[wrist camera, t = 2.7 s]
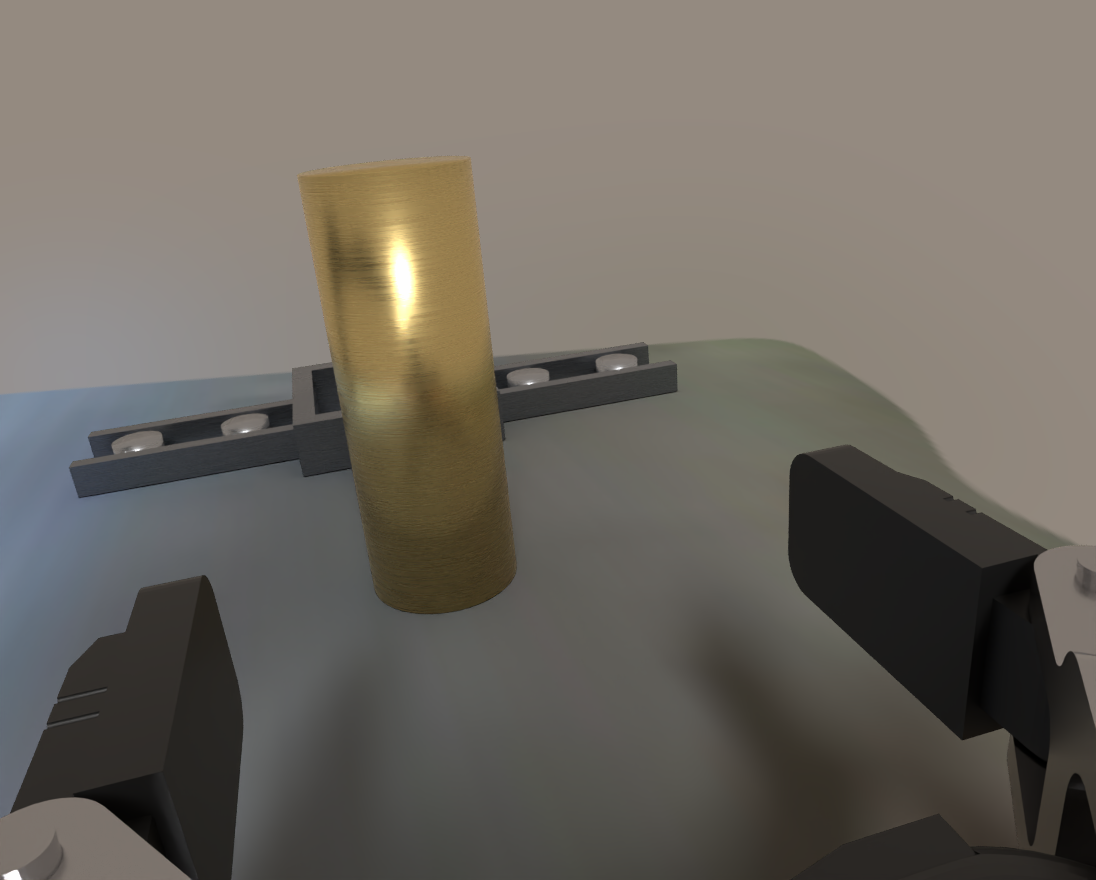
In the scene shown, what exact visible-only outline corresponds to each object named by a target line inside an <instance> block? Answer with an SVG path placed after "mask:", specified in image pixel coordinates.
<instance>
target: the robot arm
mask: <svg viewBox="0 0 1096 880" xmlns="http://www.w3.org/2000/svg"><path fill="white" fill-rule="evenodd" d="M788 555H789V562H790V567H791V570H792V573H793V576H794V578H795V581H796V583H797V584H798V586H799V588H800V589H801V591H802V592H803V593H804V594H805V595H806V596H807V597H808V598H809V599H810V600H811V601H812V602H813V603H814V604H815V605H816V606H818V607H819V608H820V609H821V610H822V611H823V612H824V613H825V614H826V615H827V616H828V617H829V618H831V619H832V620H833V621H834V622H835V623H836V624H837V625H838V626H839V627H840V628H841V629H842V630H843V631H845V632H846V633H847V634H848V635H849V636H850V637H851V638H852V639H853V640H854V641H855V642H856V643H858V644H859V645H860V646H861V647H862V648H863V649H864V650H865V651H866V652H867V653H868V654H869V655H870V656H872V657H873V658H874V659H875V660H876V661H877V662H878V663H879V664H880V665H881V666H882V667H883V668H885V669H886V670H887V671H888V672H889V673H890V674H891V675H892V676H893V677H894V678H895V679H896V680H897V681H899V682H900V683H901V684H902V685H903V686H904V687H905V688H906V689H907V690H908V691H909V692H910V693H912V694H913V695H914V696H915V697H916V698H917V699H918V700H919V701H920V702H921V703H922V704H923V705H924V706H926V707H927V708H928V709H929V710H930V711H931V712H932V713H933V714H934V715H935V716H936V717H937V718H939V719H940V720H941V721H942V722H943V723H944V724H945V725H946V726H947V727H948V728H949V729H950V730H951V731H953V732H954V733H955V734H956V735H957V736H958V737H959V738H960V739H961V740H965V739H969V738H972V737H975V736H978V735H982V734H985V733H988V732H992V731H995V730H998V729H1002V728H1004V729H1006V730H1007V731H1008V732H1009V733H1010V737H1009V744H1008V752H1007V765H1008V772H1009V780H1010V788H1011V795H1012V803H1013V811H1014V818H1015V826H1016V834H1017V841H1018V849H1015V848H1007V847H985V846H976V847H969V846H968V844H967V843H966V842H965V841H964V840H963V839H962V838H961V837H960V836H959V835H958V834H957V833H956V832H955V831H954V829H953V828H952V827H951V826H950V825H949V824H948V823H947V822H946V821H945V820H944V819H943V818H942V817H941V815H940V814H936V815H933V816H930V817H927V818H924V819H921V820H918V821H914V822H911V823H908V824H905V825H902V826H899V827H896V828H893V829H890V830H886V831H883V832H880V833H877V834H874V835H871V836H868V837H865V838H862V839H858V840H855V841H852V842H849V843H846V844H843V845H842V846H840V847H839V848H837V849H836V850H834V851H833V852H831V853H830V854H828V855H827V856H825V857H824V858H822V859H821V860H819V861H818V862H816V863H815V864H813V865H812V866H810V867H809V868H807V869H806V870H804V871H803V872H801V873H800V874H798V875H797V876H795V877H794V878H792V879H791V880H1096V546H1088V545H1071V546H1062V547H1057V548H1053V549H1050V550H1047V549H1045V548H1043V547H1041V546H1040V545H1038V544H1036V543H1034V542H1033V541H1031V540H1029V539H1027V538H1026V537H1024V536H1022V535H1020V534H1019V533H1017V532H1015V531H1013V530H1012V529H1010V528H1008V527H1006V526H1004V525H1003V524H1001V523H999V522H997V521H996V520H994V519H992V518H990V517H989V516H987V515H985V514H983V513H982V512H981V513H976V509H975V508H973V507H971V506H969V505H968V504H966V503H964V502H962V501H961V500H959V499H957V500H954V499H953V496H952V495H950V494H948V493H947V492H945V491H943V490H941V489H940V488H938V487H936V486H934V485H932V484H931V483H929V482H927V481H925V480H922V479H919V478H916V477H912V476H909V475H906V474H902V473H899V472H896V471H894V470H893V469H891V468H889V467H888V466H886V465H884V464H882V463H881V462H879V461H877V460H876V459H874V458H872V457H870V456H869V455H867V454H865V453H864V452H862V451H860V450H858V449H857V448H855V447H853V446H851V445H842V446H837V447H832V448H827V449H822V450H817V451H813V452H808V453H803V454H799V455H797V456H796V457H795V458H794V460H793V461H792V464H791V468H790V485H789V540H788ZM57 699H58V703H57V704H54V707H53V709H52V712H51V714H50V717H49V719H48V721H47V729H46V730H44V731H43V734H42V736H41V739H40V741H39V744H38V746H37V748H36V751H35V753H34V756H33V758H32V761H31V763H30V766H29V768H28V771H27V773H26V775H25V778H24V780H23V783H22V785H21V788H20V790H19V793H18V795H17V798H16V800H15V802H14V805H13V807H12V810H11V812H10V814H9V815H7V816H5V817H2V818H1V819H0V880H231V875H232V863H233V850H234V838H235V826H236V813H237V801H238V789H239V776H240V764H241V752H242V739H243V711H242V702H241V695H240V690H239V685H238V680H237V676H236V673H235V669H234V665H233V662H232V658H231V654H230V651H229V647H228V643H227V640H226V636H225V632H224V629H223V625H222V621H221V618H220V614H219V610H218V607H217V603H216V599H215V596H214V592H213V589H212V586H211V584H210V582H209V580H208V578H207V577H206V576H205V575H202V576H197V577H193V578H188V579H183V580H178V581H173V582H168V583H163V584H158V585H154V586H149V587H144V588H141V589H140V590H139V592H138V595H137V598H136V601H135V604H134V607H133V610H132V614H131V617H130V620H129V623H128V626H127V629H126V632H124V633H120V634H115V635H110V636H106V637H101V638H98V639H97V640H96V641H95V642H94V643H93V644H92V645H91V646H90V647H89V648H88V649H87V650H86V651H85V653H84V654H83V655H82V656H81V657H80V658H79V659H78V660H77V661H76V662H75V663H74V664H73V665H72V666H71V667H70V668H69V670H68V672H67V675H66V677H65V680H64V682H63V685H62V687H61V690H60V692H59V694H58V697H57Z"/></svg>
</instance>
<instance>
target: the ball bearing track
mask: <svg viewBox="0 0 1096 880" xmlns="http://www.w3.org/2000/svg"><path fill="white" fill-rule="evenodd" d="M494 371H495V380H496V389H497V397H498V406H499V415H500V424H501V433H502V440H505V434H504V425H503V422H506V421H512V420H517V419H523V418H529V417H534V416H540V415H545V414H551V413H557V412H562V411H568V410H573V409H579V408H585V407H590V406H596V405H602V404H607V403H613V402H618V401H624V400H630V399H635V398H641V397H647V396H652V395H658V394H663V393H669V392H675V391H677V364H676V363H674V362H673V361H671V360H670V361H664V362H658V363H652V364H649V357H648V345H647V344H645V343H644V342H642V343H636V344H630V345H623V346H617V347H611V348H605V349H599V350H593V351H586V352H580V353H574V354H568V355H562V356H556V357H550V358H543V359H537V360H531V361H525V362H519V363H513V364H507V365H500V366H494ZM292 384H293V399H292V400H285V401H279V402H273V403H267V404H261V405H255V406H249V407H243V408H236V409H230V410H224V411H218V412H212V413H206V414H200V415H193V416H187V417H181V418H175V419H169V420H163V421H157V422H150V423H144V424H138V425H132V426H126V427H120V428H114V429H107V430H101V431H95V432H91V433H90V435H89V436H88V439H89V442H90V445H91V449H92V452H93V455H94V458H91V459H85V460H79V461H73V462H72V464H71V465H70V467H69V469H70V472H71V475H72V478H73V481H74V484H75V488H76V491H77V494H78V497H85V496H90V495H96V494H101V493H107V492H113V491H118V490H124V489H130V488H135V487H141V486H146V485H152V484H158V483H163V482H169V481H175V480H180V479H186V478H191V477H197V476H203V475H208V474H214V473H219V472H225V471H231V470H236V469H242V468H248V467H253V466H259V465H264V464H270V463H276V462H281V461H287V460H293V459H298V458H300V462H301V467H302V472H303V476H309V475H315V474H320V473H325V472H331V471H336V470H342V469H347V468H352V465H351V460H350V455H349V449H348V444H347V439H346V433H345V428H344V423H343V417H342V412H341V411H340V410H341V407H340V401H339V396H338V391H337V385H336V380H335V375H334V369H333V364H332V362H331V363H324V364H318V365H312V366H305V367H299V368H293V369H292ZM334 411H335V412H334ZM328 412H329V413H328ZM322 413H323V414H322Z"/></svg>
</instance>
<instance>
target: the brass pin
mask: <svg viewBox="0 0 1096 880" xmlns="http://www.w3.org/2000/svg"><path fill="white" fill-rule="evenodd" d="M297 176H298V182H299V187H300V192H301V198H302V204H303V209H304V214H305V220H306V225H307V230H308V235H309V241H310V246H311V252H312V256H313V262H314V268H315V273H316V278H317V283H318V289H319V294H320V299H321V305H322V310H323V316H324V321H325V326H326V332H327V337H328V342H329V348H330V353H331V358H332V364H333V369H334V375H335V380H336V385H337V391H338V396H339V401H340V407H341V412H342V417H343V423H344V428H345V433H346V439H347V444H348V449H349V455H350V460H351V465H352V471H353V476H354V481H355V487H356V492H357V497H358V503H359V508H360V513H361V519H362V524H363V530H364V535H365V540H366V546H367V551H368V556H369V562H370V567H371V572H372V578H373V583H374V588H375V592H376V594H377V596H378V597H379V598H380V599H381V600H382V601H383V602H384V603H386V604H387V605H389V606H391V607H393V608H395V609H398V610H401V611H406V612H411V613H419V614H436V613H446V612H452V611H458V610H462V609H465V608H469V607H472V606H475V605H478V604H480V603H482V602H484V601H487V600H488V599H490V598H492V597H494V596H495V595H497V594H498V593H500V592H501V591H502V590H503V589H505V588H506V587H507V586H508V585H509V583H510V582H511V581H512V579H513V578H514V575H515V573H516V568H517V567H516V557H515V548H514V540H513V531H512V522H511V513H510V504H509V495H508V486H507V477H506V468H505V460H504V451H503V442H502V433H501V424H500V415H499V406H498V397H497V389H496V380H495V371H494V362H493V354H492V344H491V335H490V327H489V318H488V309H487V300H486V291H485V283H484V273H483V264H482V256H481V247H480V239H479V229H478V220H477V211H476V202H475V193H474V185H473V176H472V168H471V158H470V157H467V156H439V157H423V158H409V159H397V160H387V161H377V162H367V163H359V164H351V165H343V166H336V167H329V168H323V169H317V170H312V171H307V172H303V173H300V174H298V175H297Z"/></svg>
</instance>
